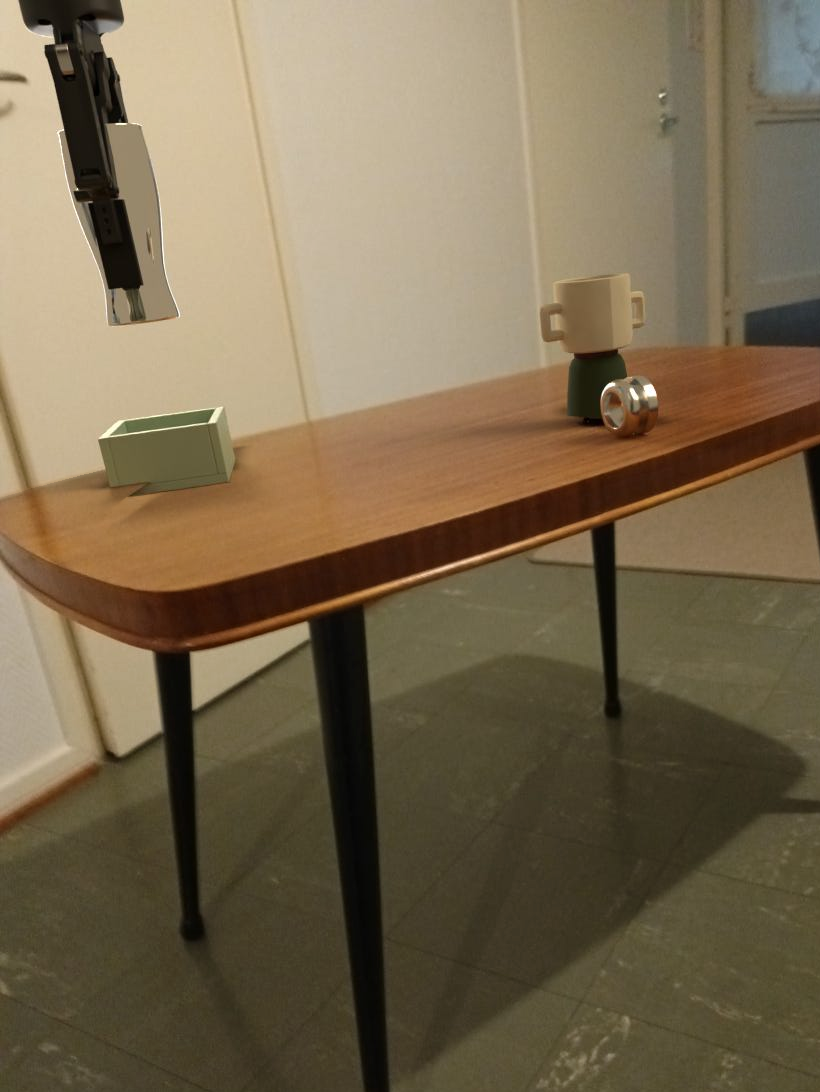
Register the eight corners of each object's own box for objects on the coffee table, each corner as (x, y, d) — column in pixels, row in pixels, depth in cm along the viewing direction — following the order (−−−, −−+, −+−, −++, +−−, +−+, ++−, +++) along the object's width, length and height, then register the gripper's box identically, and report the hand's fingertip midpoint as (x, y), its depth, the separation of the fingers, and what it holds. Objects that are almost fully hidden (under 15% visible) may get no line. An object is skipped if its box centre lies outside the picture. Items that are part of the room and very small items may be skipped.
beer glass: (85, 329, 84) (36, 134, 78) (145, 319, 90) (103, 136, 84) (143, 324, 81) (96, 121, 75) (202, 314, 86) (162, 123, 81)
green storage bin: (113, 499, 86) (97, 438, 84) (130, 475, 96) (117, 420, 94) (229, 482, 87) (216, 422, 85) (235, 460, 97) (224, 406, 95)
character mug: (631, 406, 100) (624, 270, 95) (668, 414, 94) (663, 270, 89) (533, 424, 97) (521, 285, 92) (566, 434, 90) (554, 285, 85)
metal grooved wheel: (659, 436, 85) (657, 377, 83) (631, 442, 84) (627, 382, 82) (626, 429, 89) (623, 373, 87) (599, 435, 88) (595, 378, 86)
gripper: (78, -74, 67) (158, 284, 75) (138, -5, 85) (197, 277, 94) (-35, -63, 66) (59, 296, 75) (50, 5, 84) (117, 287, 93)
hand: (135, 285), depth 84 cm, fingers closed on beer glass, 7 cm apart
